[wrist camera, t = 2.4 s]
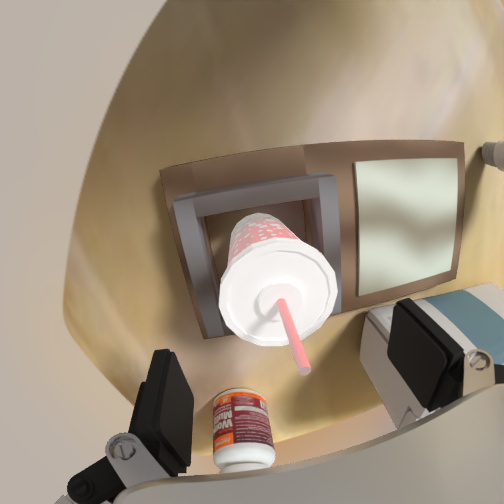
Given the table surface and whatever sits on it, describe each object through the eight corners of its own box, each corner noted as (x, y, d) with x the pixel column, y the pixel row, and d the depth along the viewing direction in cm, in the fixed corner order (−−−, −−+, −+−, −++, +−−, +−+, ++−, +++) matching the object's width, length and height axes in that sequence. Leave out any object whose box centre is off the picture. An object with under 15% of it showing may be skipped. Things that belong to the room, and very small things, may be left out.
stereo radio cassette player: (487, 274, 27) (585, 354, 8) (470, 325, 30) (549, 410, 11) (361, 299, 25) (482, 469, 7) (348, 360, 28) (423, 512, 10)
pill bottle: (219, 382, 27) (222, 474, 17) (273, 390, 29) (291, 475, 18) (207, 412, 29) (207, 493, 19) (255, 419, 31) (266, 495, 20)
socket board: (165, 167, 19) (149, 173, 15) (450, 141, 20) (482, 144, 16) (204, 325, 24) (202, 358, 20) (444, 270, 25) (469, 289, 21)
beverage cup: (204, 247, 22) (183, 383, 9) (255, 186, 21) (308, 258, 8) (262, 289, 24) (300, 431, 11) (312, 236, 22) (407, 346, 9)
